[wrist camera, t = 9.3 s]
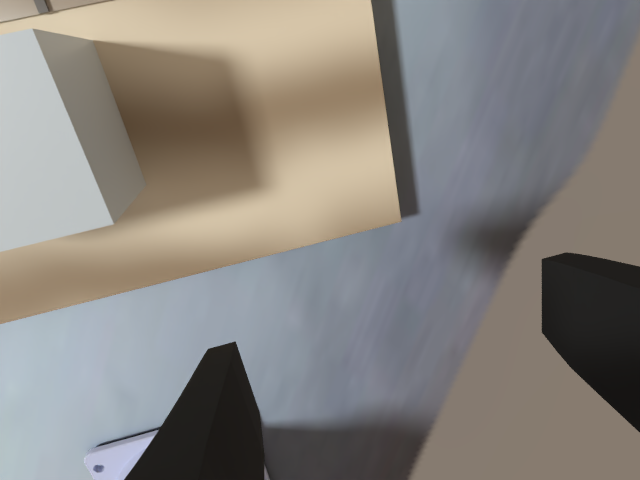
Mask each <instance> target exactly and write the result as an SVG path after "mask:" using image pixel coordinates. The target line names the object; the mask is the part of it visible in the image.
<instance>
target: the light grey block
mask: <svg viewBox="0 0 640 480" xmlns="http://www.w3.org/2000/svg"><path fill="white" fill-rule="evenodd" d="M145 186H146V182H145V180H144V177H143V174H142V171H141V169H140V166H139V163H138V161H137V158H136V155H135V153H134V150H133V147H132V145H131V142H130V139H129V137H128V134H127V131H126V128H125V126H124V123H123V120H122V118H121V115H120V112H119V110H118V107H117V104H116V102H115V99H114V96H113V93H112V91H111V88H110V85H109V83H108V80H107V77H106V75H105V72H104V69H103V67H102V64H101V61H100V59H99V56H98V53H97V50H96V48H95V45H94V42H93V40H89V39H84V38H79V37H74V36H69V35H63V34H58V33H53V32H48V31H43V30H38V29H33V28H32V29H27V30H22V31H17V32H12V33H7V34H3V35H0V252H2V251H6V250H10V249H14V248H18V247H22V246H27V245H31V244H35V243H39V242H43V241H47V240H51V239H55V238H60V237H64V236H68V235H72V234H76V233H80V232H84V231H88V230H92V229H97V228H101V227H105V226H109V225H113V224H115V222H116V221H117V220H118V219H119V218H120V216H121V215H122V214H123V213H124V211H125V210H126V209H127V208H128V207H129V205H130V204H131V203H132V202H133V201H134V199H135V198H136V197H137V196H138V194H139V193H140V192H141V191H142V190H143V188H144V187H145Z"/></svg>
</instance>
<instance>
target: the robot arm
mask: <svg viewBox="0 0 640 480" xmlns="http://www.w3.org/2000/svg"><path fill="white" fill-rule="evenodd" d="M542 333H543V334H544V335H545V337H546V338H547V339H548V340H549V342H550V343H551V344H552V345H553V347H554V348H555V349H556V351H557V352H558V353H559V354H560V355H561V357H562V358H563V359H564V360H565V361H566V362H567V364H568V365H569V366H570V367H571V368H572V369H573V370H574V371H575V372H576V373H577V374H578V375H579V376H580V377H581V378H582V379H583V380H585V382H587V383H588V384H589V385H590V386H591V387H592V388H593V389H594V390H595V391H596V392H597V393H598V394H599V395H600V396H601V397H602V398H603V399H604V400H606V401H607V402H608V403H609V404H610V405H611V406H612V407H613V408H614V409H615V410H616V411H617V412H618V413H620V414H621V415H622V416H623V417H624V418H625V419H626V420H627V421H628V422H629V423H630V424H631V425H632V426H633V427H635V428H636V429H637V430H638V431H639V432H640V267H639V266H634V265H630V264H625V263H621V262H616V261H611V260H607V259H602V258H597V257H592V256H587V255H581V254H574V253H563V254H559V255H556V256H552V257H548V258H544V259H542ZM84 463H85V465H86V467H87V468H88V470H89V472H90V473H91V475H92V477H93V479H94V480H270V478H269V475H268V473H267V470H266V467H265V464H264V448H263V439H262V430H261V422H260V413H259V410H258V407H257V404H256V401H255V398H254V395H253V392H252V389H251V386H250V383H249V380H248V377H247V374H246V371H245V368H244V365H243V362H242V359H241V356H240V353H239V350H238V347H237V344H236V342H232V343H228V344H225V345H221V346H217V347H214V348H210V349H208V350H207V352H206V353H205V355H204V356H203V358H202V360H201V361H200V363H199V365H198V366H197V368H196V370H195V372H194V373H193V375H192V377H191V379H190V380H189V382H188V384H187V385H186V387H185V389H184V390H183V392H182V394H181V396H180V397H179V399H178V400H177V402H176V404H175V405H174V407H173V408H172V410H171V412H170V413H169V415H168V416H167V418H166V420H165V421H164V423H163V424H162V426H161V428H160V429H159V430H156V431H153V432H149V433H145V434H142V435H138V436H135V437H131V438H128V439H124V440H121V441H117V442H113V443H110V444H106V445H103V446H99V447H96V448H92V449H90V450H89V451H88V452H87V453H86V456H85V459H84ZM99 464H100V465H103V466H99Z"/></svg>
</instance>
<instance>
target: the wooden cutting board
mask: <svg viewBox="0 0 640 480" xmlns="http://www.w3.org/2000/svg"><path fill="white" fill-rule="evenodd" d="M32 28H33V29H38V30H43V31H48V32H53V33H58V34H63V35H69V36H74V37H79V38H84V39H89V40H93V42H94V45H95V48H96V50H97V53H98V56H99V59H100V61H101V64H102V67H103V69H104V72H105V75H106V77H107V80H108V83H109V85H110V88H111V91H112V93H113V96H114V99H115V102H116V104H117V107H118V110H119V112H120V115H121V118H122V120H123V123H124V126H125V128H126V131H127V134H128V137H129V139H130V142H131V145H132V147H133V150H134V153H135V155H136V158H137V161H138V163H139V166H140V169H141V171H142V174H143V177H144V180H145V182H146V186H145V187H144V188H143V190H142V191H141V192H140V193H139V194H138V196H137V197H136V198H135V199H134V201H133V202H132V203H131V204H130V205H129V207H128V208H127V209H126V210H125V211H124V213H123V214H122V215H121V216H120V218H119V219H118V220H117V221H116V222H115V224H113V225H109V226H105V227H101V228H97V229H92V230H88V231H84V232H80V233H76V234H72V235H68V236H64V237H60V238H55V239H51V240H47V241H43V242H39V243H35V244H31V245H27V246H22V247H18V248H14V249H10V250H6V251H2V252H0V324H2V323H6V322H10V321H14V320H18V319H22V318H26V317H30V316H34V315H37V314H41V313H45V312H49V311H53V310H57V309H61V308H65V307H69V306H73V305H77V304H81V303H84V302H88V301H92V300H96V299H100V298H104V297H108V296H112V295H116V294H120V293H124V292H128V291H131V290H135V289H139V288H143V287H147V286H151V285H155V284H159V283H163V282H167V281H171V280H175V279H178V278H182V277H186V276H190V275H194V274H198V273H202V272H206V271H210V270H214V269H218V268H222V267H225V266H229V265H233V264H237V263H241V262H245V261H249V260H253V259H257V258H261V257H265V256H269V255H272V254H276V253H280V252H284V251H288V250H292V249H296V248H300V247H304V246H308V245H312V244H316V243H319V242H323V241H327V240H331V239H335V238H339V237H343V236H347V235H351V234H355V233H359V232H363V231H366V230H370V229H374V228H378V227H382V226H386V225H390V224H394V223H398V222H401V215H400V208H399V201H398V194H397V186H396V179H395V172H394V165H393V157H392V150H391V143H390V136H389V128H388V121H387V114H386V106H385V99H384V92H383V85H382V77H381V70H380V63H379V56H378V48H377V41H376V34H375V27H374V19H373V12H372V5H371V0H0V35H3V34H7V33H12V32H17V31H22V30H27V29H32Z"/></svg>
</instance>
